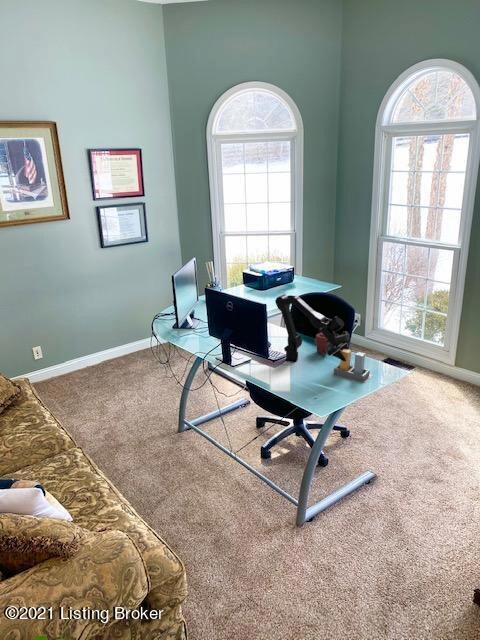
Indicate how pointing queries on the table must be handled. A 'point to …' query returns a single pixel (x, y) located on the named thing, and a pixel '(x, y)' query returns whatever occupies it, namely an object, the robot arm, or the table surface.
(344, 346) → the robot arm
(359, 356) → the grey rectangular block
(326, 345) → the mechanical component
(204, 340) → the table surface
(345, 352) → the yellow upright block
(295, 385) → the table surface
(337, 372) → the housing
